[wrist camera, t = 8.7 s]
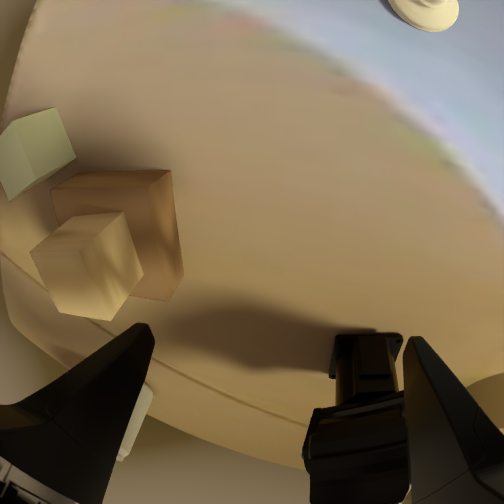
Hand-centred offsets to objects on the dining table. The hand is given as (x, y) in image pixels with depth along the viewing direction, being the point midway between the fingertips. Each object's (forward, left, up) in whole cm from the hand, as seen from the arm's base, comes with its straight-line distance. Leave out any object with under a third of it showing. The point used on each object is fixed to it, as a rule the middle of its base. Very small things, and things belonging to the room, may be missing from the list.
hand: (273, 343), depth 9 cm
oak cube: (-2, +13, -9) cm, 16 cm away
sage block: (+6, +20, -13) cm, 25 cm away
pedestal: (-2, +13, -13) cm, 19 cm away
